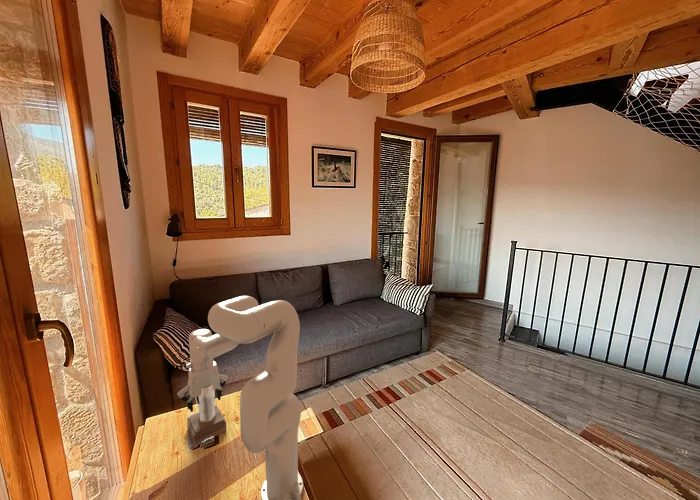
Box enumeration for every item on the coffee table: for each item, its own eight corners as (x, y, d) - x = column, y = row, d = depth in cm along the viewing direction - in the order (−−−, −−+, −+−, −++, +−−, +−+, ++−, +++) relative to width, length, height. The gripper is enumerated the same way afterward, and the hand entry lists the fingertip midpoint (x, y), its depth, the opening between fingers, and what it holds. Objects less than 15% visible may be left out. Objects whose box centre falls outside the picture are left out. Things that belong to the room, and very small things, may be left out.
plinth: (226, 431, 110) (225, 419, 109) (195, 446, 103) (194, 434, 102) (217, 415, 118) (216, 404, 117) (187, 428, 111) (186, 417, 110)
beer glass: (194, 417, 110) (192, 382, 107) (213, 408, 114) (211, 375, 112) (200, 428, 105) (197, 391, 102) (219, 418, 109) (217, 383, 107)
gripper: (177, 376, 97) (181, 420, 100) (229, 358, 108) (231, 399, 111) (173, 366, 103) (177, 408, 105) (223, 351, 114) (225, 389, 117)
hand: (205, 403), depth 108 cm, fingers open, 9 cm apart
